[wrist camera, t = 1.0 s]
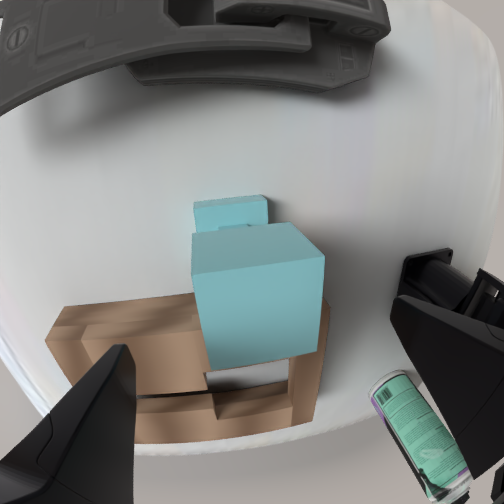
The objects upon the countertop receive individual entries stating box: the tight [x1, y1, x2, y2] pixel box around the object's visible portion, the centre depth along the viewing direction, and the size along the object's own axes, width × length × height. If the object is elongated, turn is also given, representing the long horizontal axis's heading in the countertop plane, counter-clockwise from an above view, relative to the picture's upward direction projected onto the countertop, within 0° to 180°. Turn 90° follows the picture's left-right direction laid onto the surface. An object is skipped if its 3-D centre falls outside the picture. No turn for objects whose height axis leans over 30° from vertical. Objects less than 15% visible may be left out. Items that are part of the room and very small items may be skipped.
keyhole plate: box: [45, 293, 331, 444], centre depth 19 cm, size 18×13×4 cm
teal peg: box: [191, 195, 325, 371], centre depth 13 cm, size 4×4×9 cm
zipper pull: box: [0, 0, 391, 116], centre depth 8 cm, size 9×7×25 cm
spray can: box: [369, 370, 473, 504], centre depth 19 cm, size 6×6×20 cm
